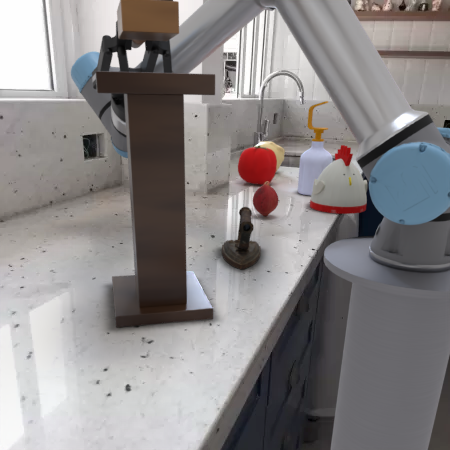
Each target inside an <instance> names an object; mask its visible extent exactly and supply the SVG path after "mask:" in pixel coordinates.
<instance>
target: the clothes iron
mask: <svg viewBox="0 0 450 450" xmlns="http://www.w3.org/2000/svg"><path fill="white" fill-rule="evenodd" d="M238 214H239V222H238V223H239V224H238V231H237V232H238V233H237V239H229V240H228V239H227V240H226V241H224V242H223V244H222V245H221V256H222V258H223V259H224V261H225V262H226V263H228V264H229V265H230V266H232V267H234V268H235V269H238V270H246V269H248V268H250V267H252V266H253V265H255V264H256V263H257V262H258V261H259V259H260V258H261V254H262V253H261V252H262V247H261V245H260V244H259V243H258V241H256V240H251V237H252V233H253V231H254V230H255V229H254V228H255V226H254V224H253V223H252V215H253V211H252V209H251V208H250V207H249V206H243V207H241V208H240V209H239V211H238Z"/></svg>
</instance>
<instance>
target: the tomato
mask: <svg viewBox="0 0 450 450" xmlns="http://www.w3.org/2000/svg"><path fill="white" fill-rule="evenodd" d="M254 146H255V147H254ZM254 146H251V147H250V146H248V147H246V148H245V149H243V151H242V152H241V154H240V156H239V159H238V164H237V172H238V175H239V177H240V179H242V181H244V182H246V183H248V184H252V185H261V186H262V185H263V184H264V183H265V182H267V181H269V182H270V183H271V182H272V181H273V179H274V178H275V176H276V172H277V171H276V168H277V159H276V155H275V152H274V151H273V150H272V149H269V148H266V147H260V145H258V147H256V145H254Z"/></svg>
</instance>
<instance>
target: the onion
mask: <svg viewBox="0 0 450 450" xmlns="http://www.w3.org/2000/svg"><path fill="white" fill-rule="evenodd" d="M270 184H271V182H269V181H267V182H265V183H264V184H263V185H261V186H260V187H258V189H256V191H255V192H254V194H253V196H252V205H253V207H254V209H255V210H256V212H257V213H259V214H261V216H262V217H268V216H269V215H270V214H271V213H273V212H274V211H275V210H276V209H277V207H278V205H279V202H280V201H279V196H278V195H279V194H278V192H277V191H276V190H275V189H274V188H273V187H272V186H271V185H270Z"/></svg>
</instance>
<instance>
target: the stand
mask: <svg viewBox="0 0 450 450" xmlns="http://www.w3.org/2000/svg"><path fill="white" fill-rule="evenodd" d="M96 87H97V93H116V94H124V103H125V119H126V136H127V152H128V158H127V166H128V182H129V201H130V202H129V203H130V215H131V216H130V217H131V230H132V231H131V232H132V249H133V250H132V251H133V265H134V266H133V267H134V274H130V275H129V274H127V275H114V276H111V283H112V285H111V286H112V295H113V296H112V297H113V306H114V319H115V328H128V327H137V326H149V325H150V326H151V325H159V324H170V323H171V324H172V323H181V322H193V321H206V320H213V319H214V307H213V305H212V303H211V301H210V300H209V298H208V296H207V294H206V292H205V291H204V289H203V287H202V285H201V283H200V281H199V278H198V277H197V276H196V274H195V272H194V271H193V270H191V271H190V270H188V271H187V220H186V219H187V218H186V216H187V215H186V213H187V212H186V157H185V155H186V150H185V149H186V147H185V100H184V99H185V96H216V74H215V73H191V72H190V73H154V72H118V71H96Z"/></svg>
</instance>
